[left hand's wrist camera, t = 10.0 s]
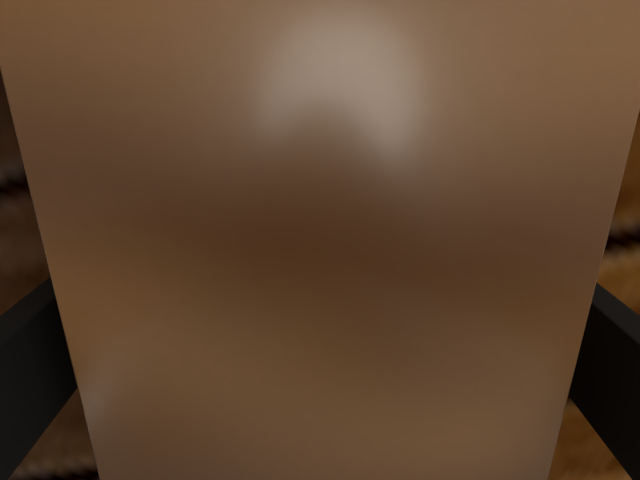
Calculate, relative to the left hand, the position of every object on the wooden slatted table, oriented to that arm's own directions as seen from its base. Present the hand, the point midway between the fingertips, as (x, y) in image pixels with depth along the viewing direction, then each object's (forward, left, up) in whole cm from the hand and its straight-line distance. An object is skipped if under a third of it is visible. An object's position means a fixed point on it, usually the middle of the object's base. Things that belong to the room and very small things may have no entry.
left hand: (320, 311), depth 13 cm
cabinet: (+1, +4, -8) cm, 9 cm away
